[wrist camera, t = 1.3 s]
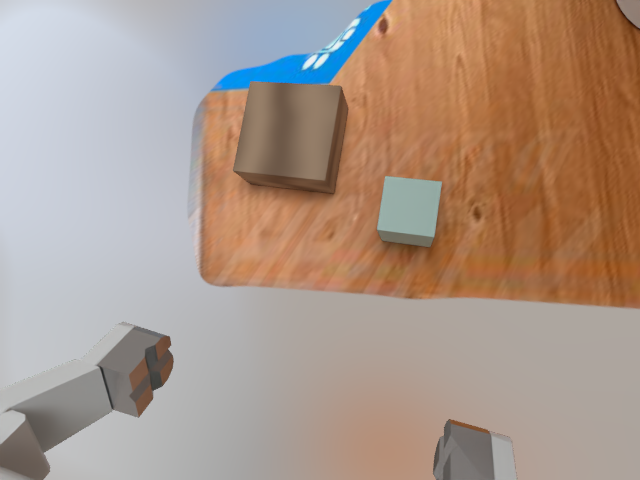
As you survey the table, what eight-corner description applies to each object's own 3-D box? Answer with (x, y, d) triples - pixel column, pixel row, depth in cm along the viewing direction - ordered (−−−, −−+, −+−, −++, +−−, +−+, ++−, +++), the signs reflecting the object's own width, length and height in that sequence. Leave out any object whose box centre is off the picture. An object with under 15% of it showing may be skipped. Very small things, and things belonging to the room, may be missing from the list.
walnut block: (348, 108, 46) (341, 85, 41) (334, 193, 45) (325, 180, 40) (266, 103, 48) (250, 81, 44) (250, 183, 47) (232, 170, 43)
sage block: (436, 200, 43) (441, 181, 36) (430, 247, 42) (434, 237, 35) (388, 195, 44) (385, 176, 37) (381, 240, 43) (377, 229, 36)
